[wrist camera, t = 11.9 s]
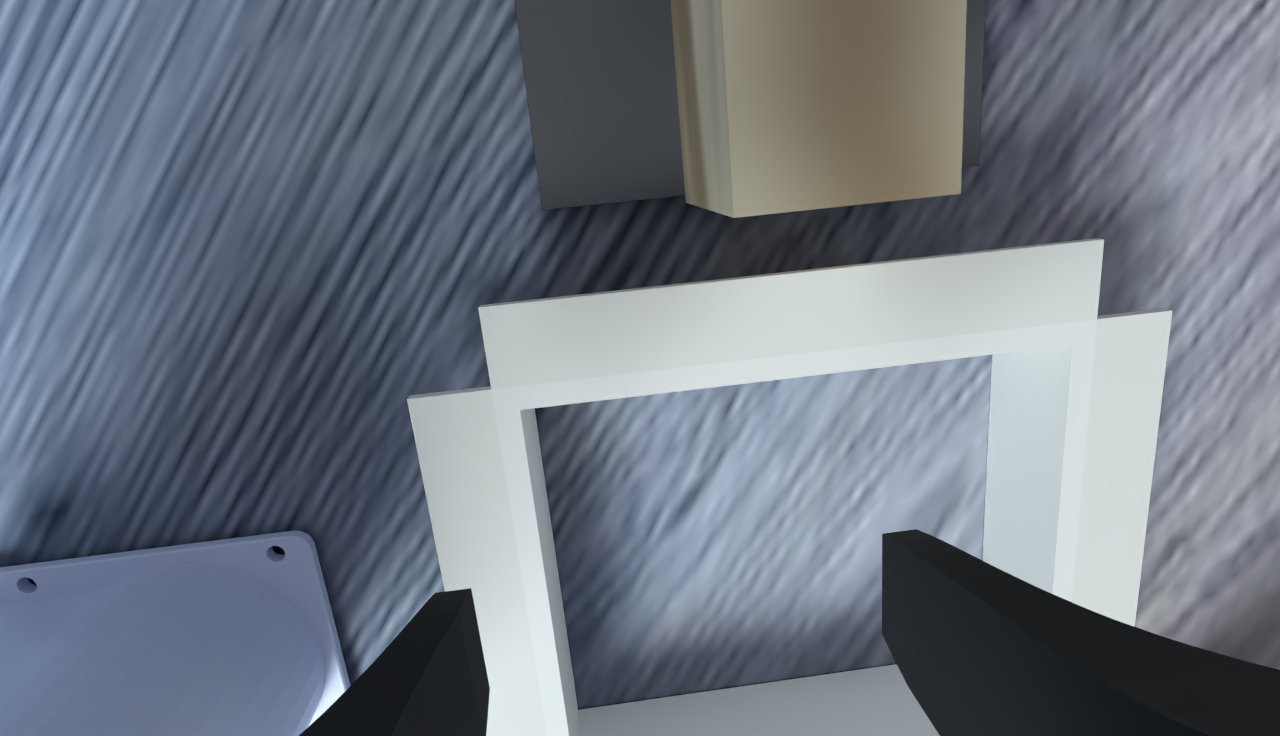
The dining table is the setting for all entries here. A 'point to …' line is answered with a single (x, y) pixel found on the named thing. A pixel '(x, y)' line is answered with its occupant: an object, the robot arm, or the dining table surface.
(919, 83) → the birch block
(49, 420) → the dining table surface
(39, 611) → the robot arm
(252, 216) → the dining table surface
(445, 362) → the dining table surface
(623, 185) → the rubber mat
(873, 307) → the white flat frame
